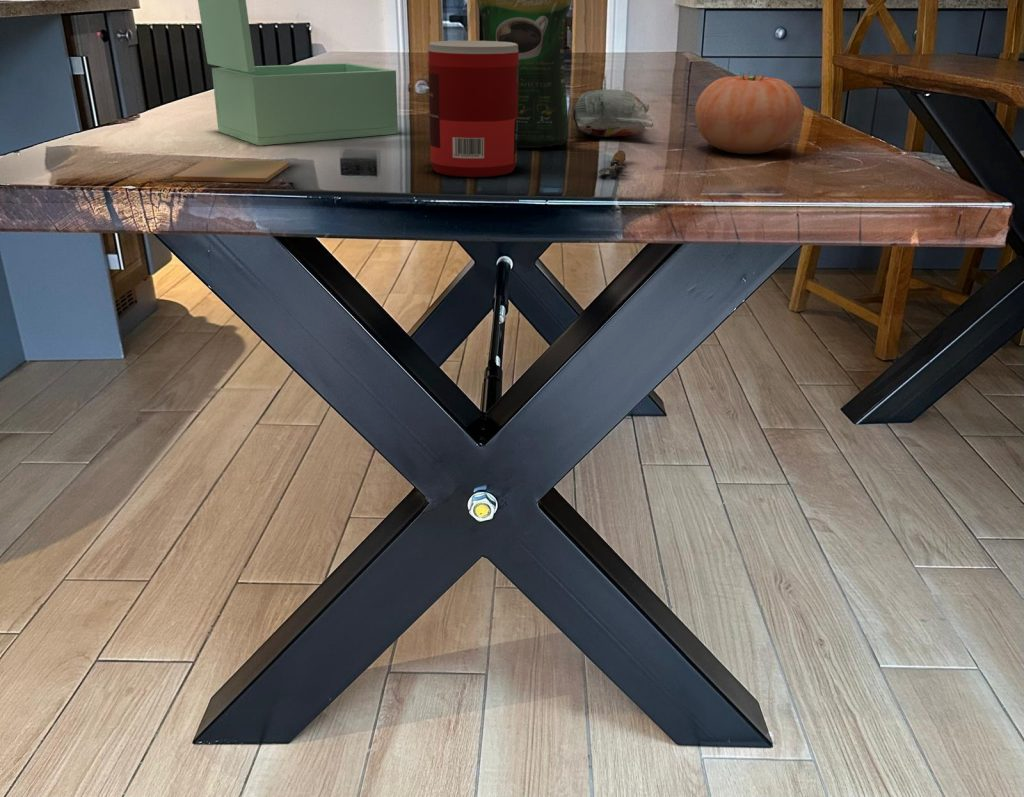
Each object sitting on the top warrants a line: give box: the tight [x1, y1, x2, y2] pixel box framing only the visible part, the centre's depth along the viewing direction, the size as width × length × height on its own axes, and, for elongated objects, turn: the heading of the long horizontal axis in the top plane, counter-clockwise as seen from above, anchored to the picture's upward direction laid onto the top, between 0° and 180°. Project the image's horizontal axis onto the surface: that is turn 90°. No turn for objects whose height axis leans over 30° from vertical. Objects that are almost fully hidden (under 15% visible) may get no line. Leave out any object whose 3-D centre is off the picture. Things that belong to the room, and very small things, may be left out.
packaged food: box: [572, 88, 654, 138], centre depth 108 cm, size 9×12×5 cm
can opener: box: [598, 150, 627, 178], centre depth 88 cm, size 9×2×1 cm, turn 163°
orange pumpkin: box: [694, 71, 803, 155], centre depth 98 cm, size 11×11×8 cm
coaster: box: [172, 159, 290, 183], centre depth 85 cm, size 8×8×1 cm
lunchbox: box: [211, 62, 399, 146], centre depth 106 cm, size 17×12×7 cm
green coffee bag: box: [476, 0, 572, 149], centre depth 99 cm, size 10×8×19 cm
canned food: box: [427, 40, 519, 178], centre depth 86 cm, size 8×8×11 cm
